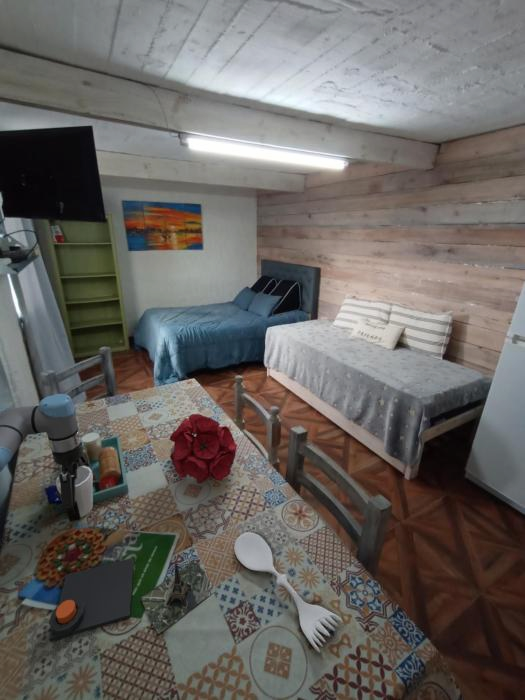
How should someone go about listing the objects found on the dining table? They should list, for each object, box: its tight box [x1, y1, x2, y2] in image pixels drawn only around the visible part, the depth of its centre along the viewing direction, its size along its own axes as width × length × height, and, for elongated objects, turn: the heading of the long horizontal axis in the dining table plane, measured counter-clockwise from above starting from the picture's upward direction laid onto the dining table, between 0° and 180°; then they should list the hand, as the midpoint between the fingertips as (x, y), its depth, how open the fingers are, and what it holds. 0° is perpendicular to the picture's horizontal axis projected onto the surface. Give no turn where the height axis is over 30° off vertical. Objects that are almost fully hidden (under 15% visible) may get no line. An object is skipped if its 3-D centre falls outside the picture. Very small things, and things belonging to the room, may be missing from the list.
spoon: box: [233, 531, 344, 653], centre depth 79 cm, size 9×32×4 cm, turn 41°
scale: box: [48, 557, 135, 642], centre depth 75 cm, size 16×14×3 cm
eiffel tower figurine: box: [140, 558, 217, 635], centre depth 75 cm, size 15×10×13 cm
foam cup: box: [55, 466, 94, 518], centre depth 97 cm, size 10×9×13 cm
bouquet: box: [168, 413, 238, 485], centre depth 113 cm, size 22×24×30 cm
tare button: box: [56, 600, 76, 624], centre depth 70 cm, size 4×4×2 cm
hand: (80, 501), depth 98 cm, fingers open, 13 cm apart
